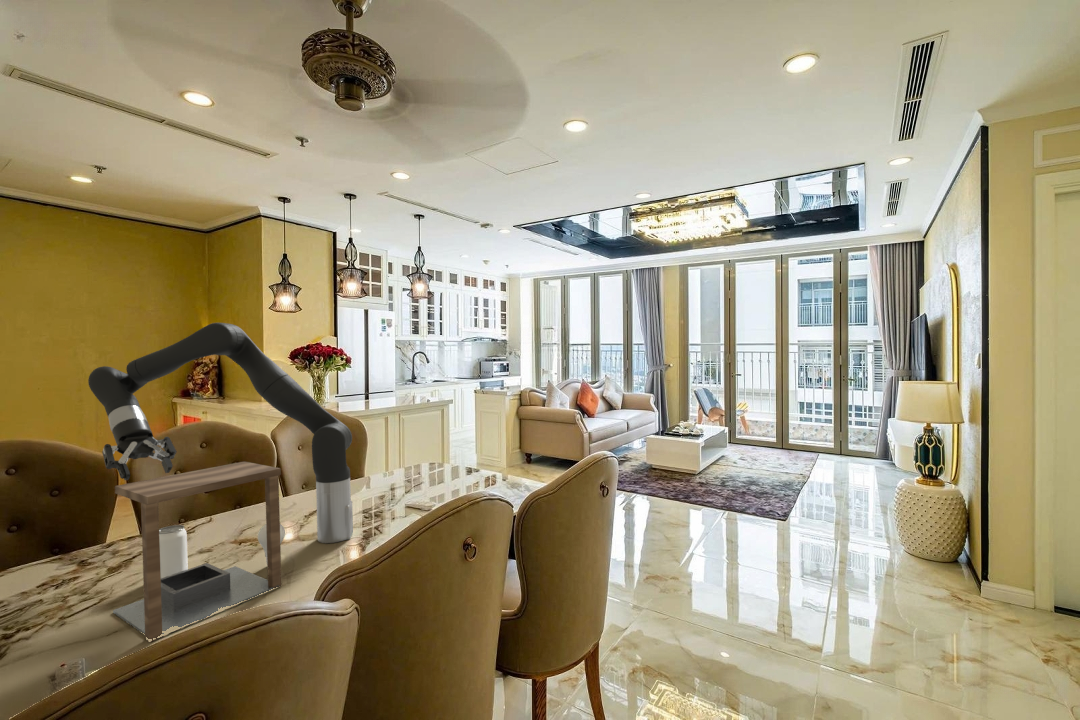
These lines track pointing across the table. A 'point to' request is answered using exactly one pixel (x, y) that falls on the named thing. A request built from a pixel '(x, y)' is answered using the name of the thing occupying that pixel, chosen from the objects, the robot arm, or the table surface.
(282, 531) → the lightbulb
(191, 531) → the table surface
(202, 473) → the wooden arch stand
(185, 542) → the can
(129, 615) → the socket
